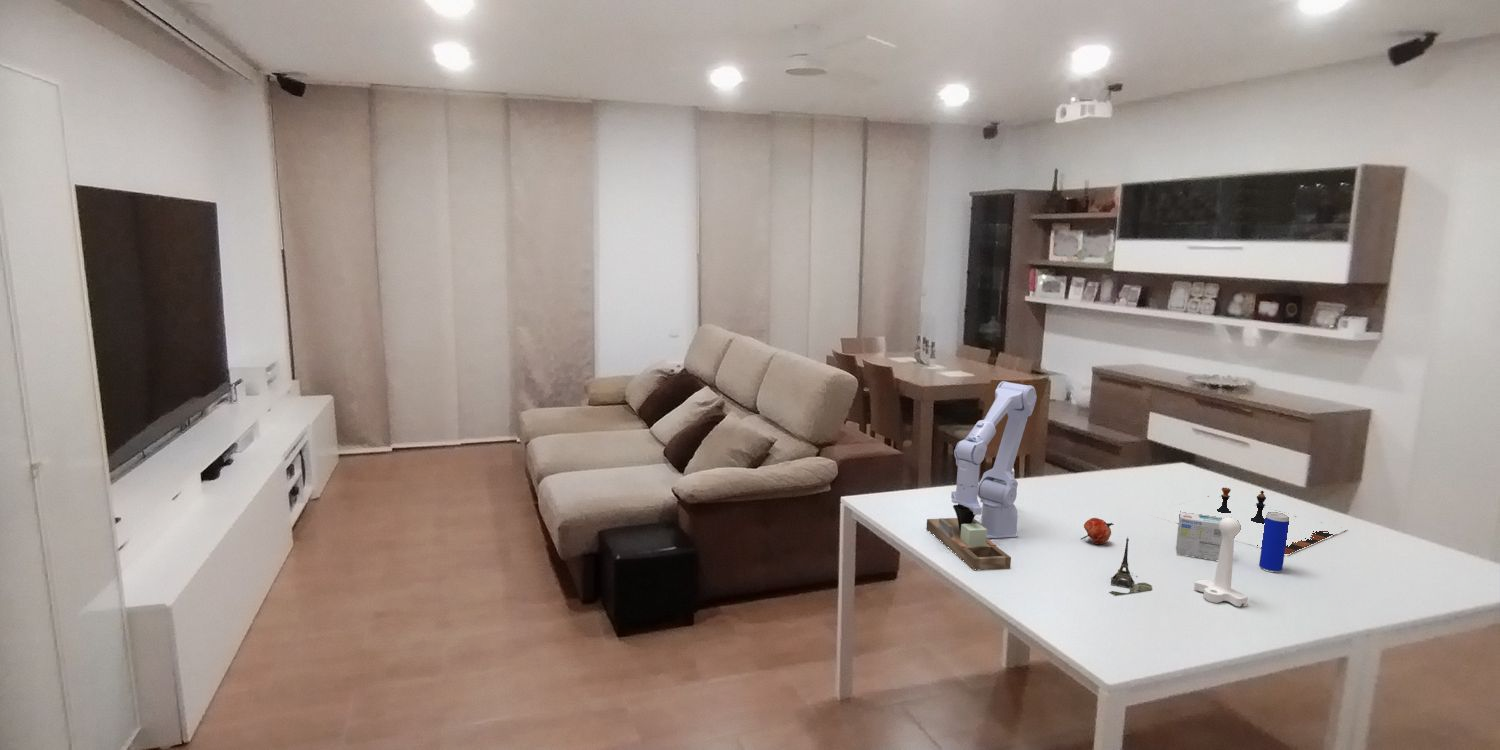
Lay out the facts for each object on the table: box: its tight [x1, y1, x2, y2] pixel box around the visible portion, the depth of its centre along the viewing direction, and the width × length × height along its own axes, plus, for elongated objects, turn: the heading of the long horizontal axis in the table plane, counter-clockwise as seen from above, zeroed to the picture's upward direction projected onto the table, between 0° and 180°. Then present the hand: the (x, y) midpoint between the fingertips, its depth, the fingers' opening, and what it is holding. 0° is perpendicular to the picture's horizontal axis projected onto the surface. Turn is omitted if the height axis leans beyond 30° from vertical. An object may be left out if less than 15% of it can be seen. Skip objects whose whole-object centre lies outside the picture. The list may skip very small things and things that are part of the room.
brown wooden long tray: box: [926, 517, 1012, 571], centre depth 222 cm, size 10×30×6 cm, turn 11°
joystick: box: [1193, 517, 1248, 607], centre depth 192 cm, size 11×8×20 cm
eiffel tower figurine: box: [1108, 537, 1153, 596], centre depth 200 cm, size 15×10×13 cm
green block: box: [960, 523, 987, 547], centre depth 218 cm, size 5×5×4 cm
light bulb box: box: [1175, 511, 1223, 561], centre depth 221 cm, size 11×7×11 cm, turn 65°
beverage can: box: [1258, 512, 1289, 573], centre depth 212 cm, size 5×5×15 cm
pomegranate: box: [1080, 517, 1114, 545], centre depth 229 cm, size 7×7×10 cm
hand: (964, 531), depth 224 cm, fingers closed
